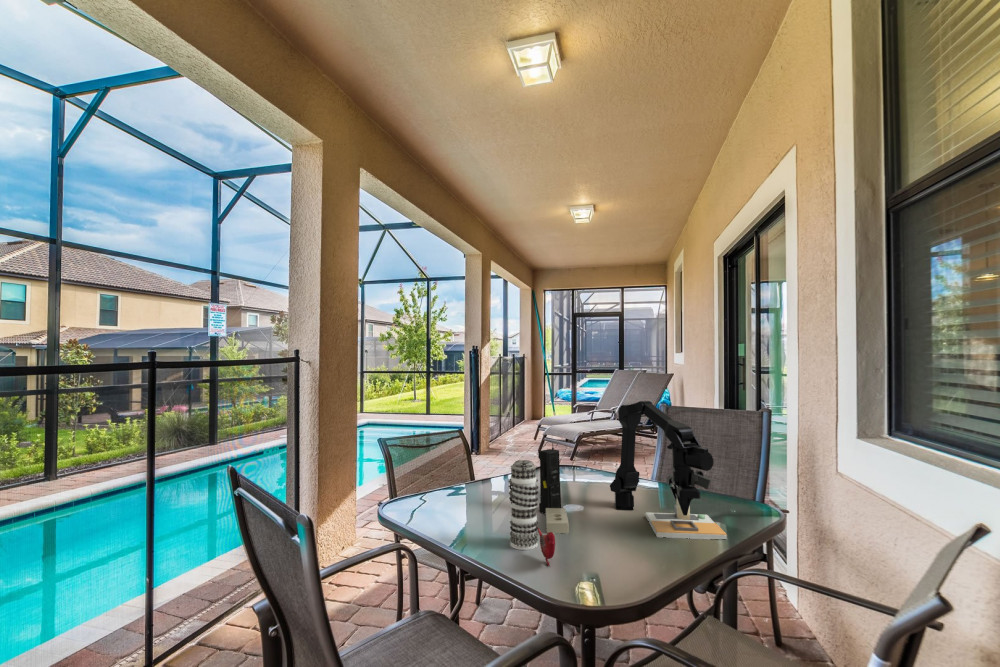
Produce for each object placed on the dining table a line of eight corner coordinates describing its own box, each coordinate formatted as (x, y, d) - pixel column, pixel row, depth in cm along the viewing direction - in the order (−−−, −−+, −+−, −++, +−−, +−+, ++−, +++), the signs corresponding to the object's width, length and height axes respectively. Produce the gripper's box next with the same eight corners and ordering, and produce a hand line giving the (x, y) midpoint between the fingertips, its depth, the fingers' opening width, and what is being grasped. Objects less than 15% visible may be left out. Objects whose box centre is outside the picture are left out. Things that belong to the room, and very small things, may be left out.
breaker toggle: (677, 517, 158) (677, 507, 158) (674, 514, 162) (674, 504, 162) (689, 518, 158) (689, 508, 158) (686, 514, 162) (686, 504, 162)
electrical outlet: (565, 505, 167) (568, 522, 149) (565, 517, 167) (569, 535, 149) (545, 505, 167) (546, 522, 150) (545, 516, 167) (546, 534, 149)
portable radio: (548, 516, 166) (547, 446, 168) (536, 512, 171) (535, 444, 172) (562, 511, 171) (561, 444, 173) (551, 508, 176) (550, 442, 178)
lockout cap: (678, 519, 148) (678, 500, 148) (675, 515, 152) (675, 497, 152) (691, 520, 147) (691, 501, 148) (688, 516, 151) (687, 497, 152)
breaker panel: (657, 537, 146) (656, 528, 146) (645, 516, 165) (645, 509, 166) (726, 540, 143) (726, 531, 143) (707, 518, 162) (706, 511, 163)
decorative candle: (509, 538, 145) (508, 458, 147) (538, 539, 145) (537, 458, 146) (508, 550, 136) (508, 464, 138) (540, 550, 136) (538, 464, 137)
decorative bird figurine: (548, 575, 120) (548, 536, 120) (533, 548, 137) (532, 514, 138) (559, 574, 120) (558, 535, 121) (542, 548, 137) (542, 514, 138)
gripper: (717, 471, 140) (719, 524, 139) (699, 459, 159) (700, 505, 158) (679, 470, 142) (680, 522, 141) (665, 458, 160) (667, 504, 159)
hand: (683, 513), depth 150 cm, fingers closed on lockout cap, 4 cm apart
